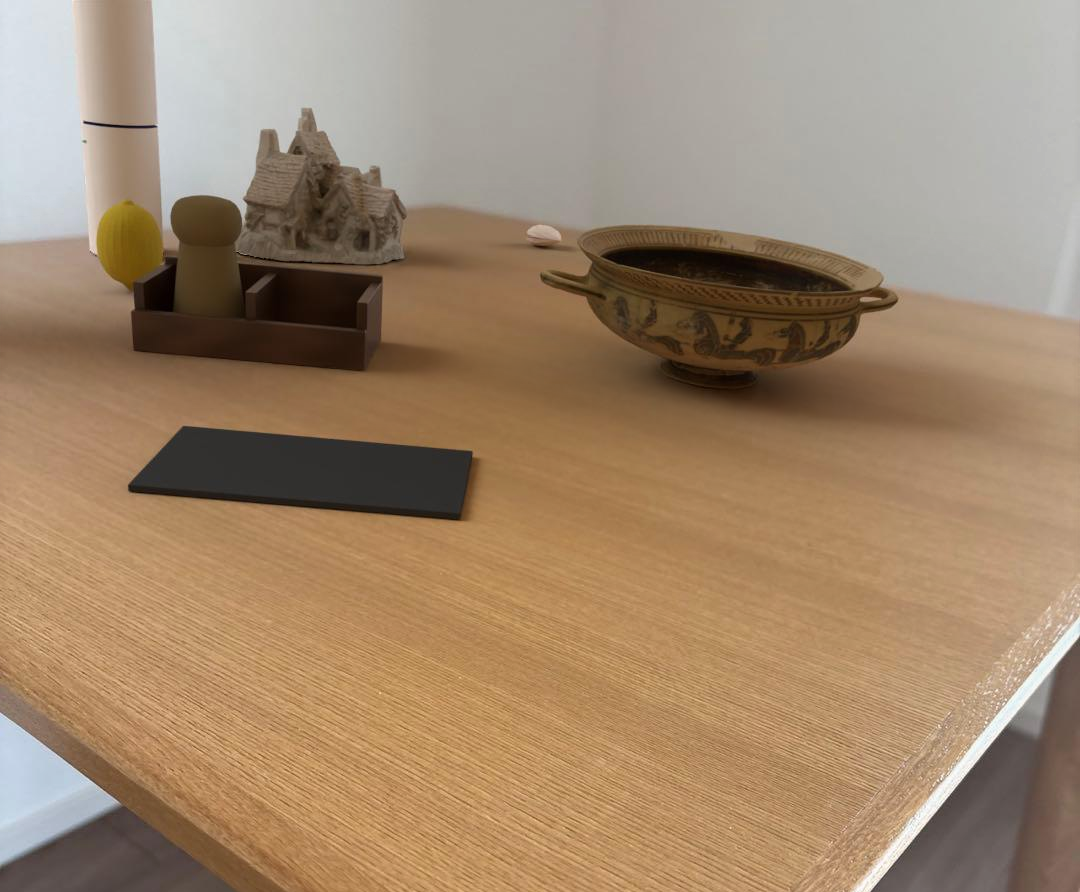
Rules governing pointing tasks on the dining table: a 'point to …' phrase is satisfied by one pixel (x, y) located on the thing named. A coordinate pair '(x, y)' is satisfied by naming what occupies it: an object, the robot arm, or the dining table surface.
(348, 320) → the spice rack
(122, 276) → the lemon
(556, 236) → the clam shell
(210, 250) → the cork
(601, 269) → the ceramic bowl
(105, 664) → the dining table surface
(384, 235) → the ceramic cottage
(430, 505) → the mat
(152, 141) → the cylindrical container
